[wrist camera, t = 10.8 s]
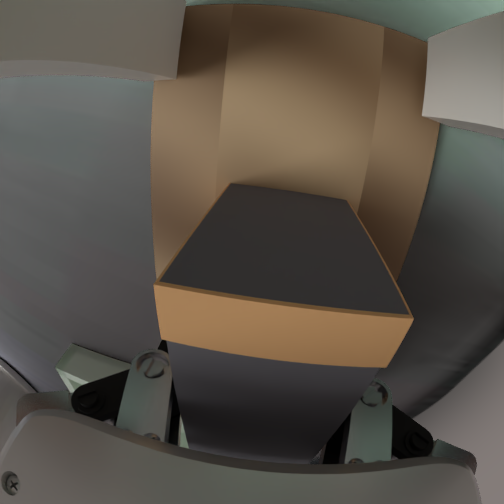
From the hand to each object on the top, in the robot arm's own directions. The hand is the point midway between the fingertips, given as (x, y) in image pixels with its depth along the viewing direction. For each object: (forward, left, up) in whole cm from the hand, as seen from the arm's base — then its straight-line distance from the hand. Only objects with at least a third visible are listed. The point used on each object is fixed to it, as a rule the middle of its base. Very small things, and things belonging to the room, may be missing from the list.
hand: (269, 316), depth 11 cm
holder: (+2, 0, -1) cm, 3 cm away
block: (0, 0, -1) cm, 1 cm away
